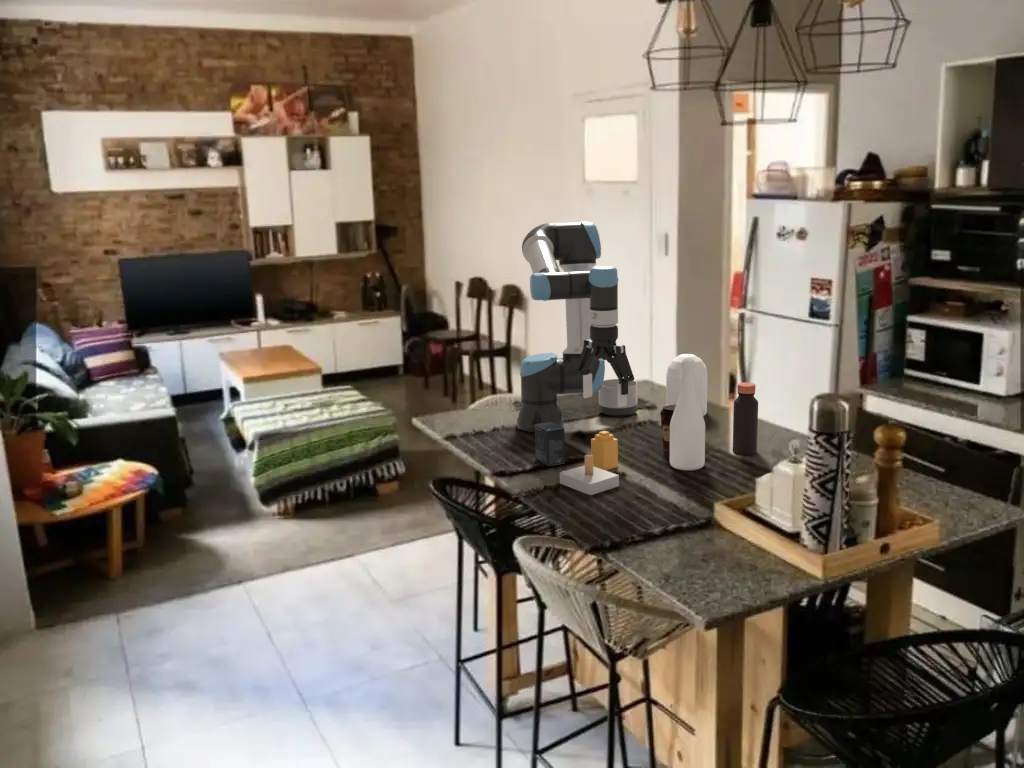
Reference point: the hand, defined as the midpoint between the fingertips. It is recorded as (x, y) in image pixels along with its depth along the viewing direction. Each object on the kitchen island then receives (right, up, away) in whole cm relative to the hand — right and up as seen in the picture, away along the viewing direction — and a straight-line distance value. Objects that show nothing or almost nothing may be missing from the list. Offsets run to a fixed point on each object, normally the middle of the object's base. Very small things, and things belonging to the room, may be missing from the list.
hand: (604, 401), depth 247 cm
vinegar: (+41, -15, +13) cm, 46 cm away
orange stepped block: (0, -18, +4) cm, 19 cm away
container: (+33, -5, +55) cm, 65 cm away
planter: (+10, -5, +57) cm, 58 cm away
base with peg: (-6, -21, -8) cm, 24 cm away
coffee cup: (+22, -15, +17) cm, 31 cm away
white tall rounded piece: (+23, -18, +3) cm, 29 cm away
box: (-14, -17, +11) cm, 25 cm away
